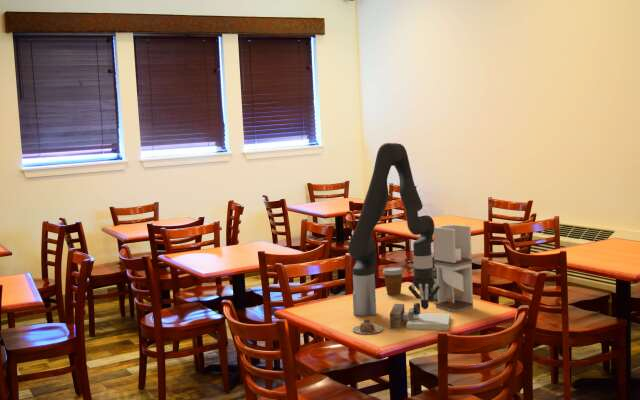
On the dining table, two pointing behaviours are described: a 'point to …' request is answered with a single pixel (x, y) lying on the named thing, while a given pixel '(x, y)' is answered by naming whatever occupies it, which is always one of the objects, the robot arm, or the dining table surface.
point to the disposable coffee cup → (393, 280)
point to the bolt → (415, 313)
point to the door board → (428, 321)
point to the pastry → (367, 327)
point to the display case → (453, 267)
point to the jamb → (396, 316)
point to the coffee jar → (435, 282)
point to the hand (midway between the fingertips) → (425, 308)
